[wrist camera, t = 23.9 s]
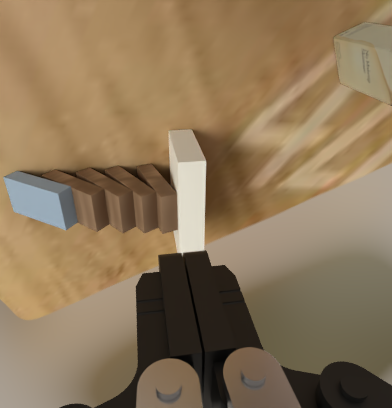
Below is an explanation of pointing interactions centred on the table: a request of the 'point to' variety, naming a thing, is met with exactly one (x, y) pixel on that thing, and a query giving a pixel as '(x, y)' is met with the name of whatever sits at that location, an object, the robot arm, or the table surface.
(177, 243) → the block
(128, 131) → the table surface
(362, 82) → the skincare box
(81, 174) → the walnut domino
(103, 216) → the walnut domino
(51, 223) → the slate domino
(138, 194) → the walnut domino
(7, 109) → the table surface
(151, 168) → the walnut domino
